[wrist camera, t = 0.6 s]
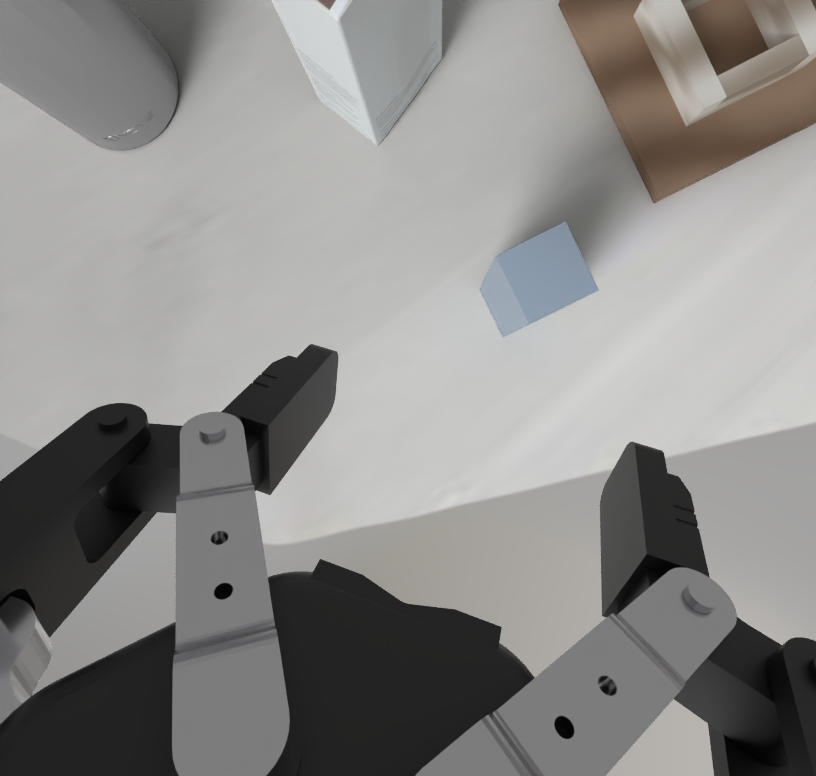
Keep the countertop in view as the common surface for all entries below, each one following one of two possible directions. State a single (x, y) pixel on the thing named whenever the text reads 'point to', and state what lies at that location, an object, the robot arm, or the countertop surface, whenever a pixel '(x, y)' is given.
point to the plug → (536, 279)
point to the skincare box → (365, 54)
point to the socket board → (699, 78)
